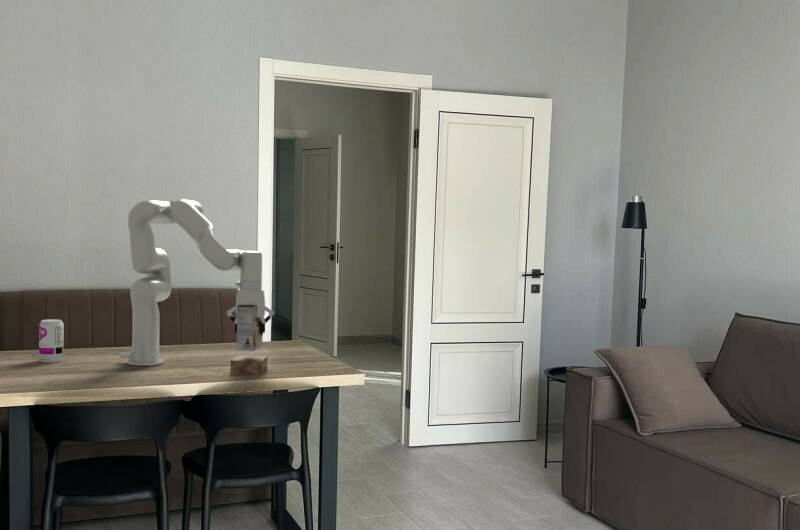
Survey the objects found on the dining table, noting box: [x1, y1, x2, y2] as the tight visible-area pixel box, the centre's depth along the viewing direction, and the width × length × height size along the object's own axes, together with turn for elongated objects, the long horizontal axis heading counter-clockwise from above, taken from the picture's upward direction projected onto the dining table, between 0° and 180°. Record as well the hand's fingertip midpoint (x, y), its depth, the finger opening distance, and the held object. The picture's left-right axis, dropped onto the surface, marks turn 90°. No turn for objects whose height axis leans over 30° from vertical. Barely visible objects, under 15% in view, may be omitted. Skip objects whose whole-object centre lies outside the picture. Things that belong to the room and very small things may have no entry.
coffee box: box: [236, 305, 263, 352], centre depth 289 cm, size 9×6×16 cm
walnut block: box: [229, 354, 269, 375], centre depth 290 cm, size 11×11×5 cm
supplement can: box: [38, 318, 65, 364], centre depth 297 cm, size 8×8×15 cm
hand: (249, 334), depth 289 cm, fingers closed on coffee box, 7 cm apart
